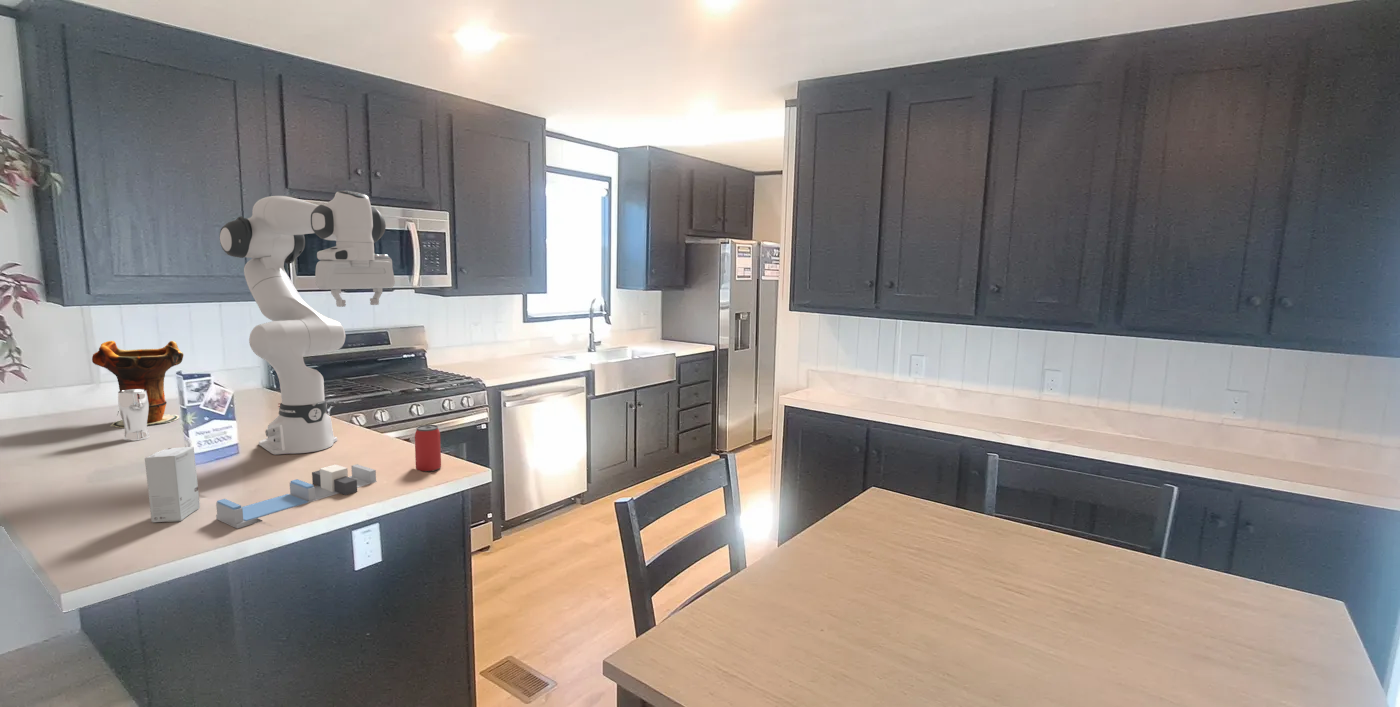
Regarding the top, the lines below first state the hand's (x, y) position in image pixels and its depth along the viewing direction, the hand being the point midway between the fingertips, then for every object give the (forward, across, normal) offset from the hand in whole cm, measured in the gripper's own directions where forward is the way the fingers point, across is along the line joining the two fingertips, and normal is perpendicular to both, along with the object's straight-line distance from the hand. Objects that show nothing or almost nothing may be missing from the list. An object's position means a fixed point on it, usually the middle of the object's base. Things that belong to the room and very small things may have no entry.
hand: (358, 305), depth 172 cm
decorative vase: (+45, +12, -103) cm, 113 cm away
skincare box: (+45, +43, -4) cm, 62 cm away
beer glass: (+45, +22, -81) cm, 95 cm away
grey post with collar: (+44, +15, +10) cm, 48 cm away
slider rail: (+45, +23, +10) cm, 52 cm away
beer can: (+46, -9, +14) cm, 49 cm away
